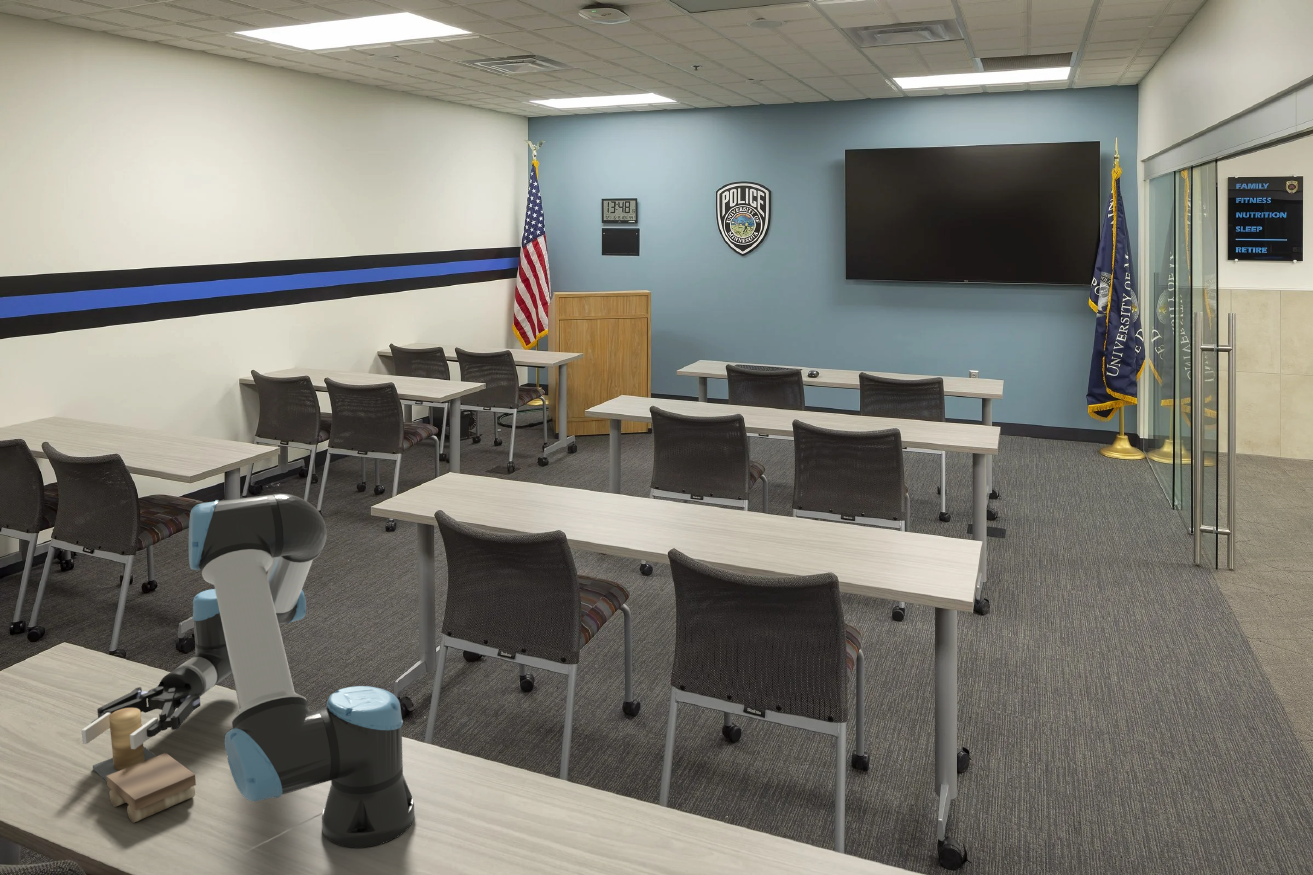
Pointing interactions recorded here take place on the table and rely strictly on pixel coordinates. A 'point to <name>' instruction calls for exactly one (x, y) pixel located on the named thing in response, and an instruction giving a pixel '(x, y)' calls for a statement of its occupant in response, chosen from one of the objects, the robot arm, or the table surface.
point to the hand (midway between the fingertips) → (108, 739)
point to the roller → (125, 738)
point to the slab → (151, 786)
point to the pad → (108, 766)
